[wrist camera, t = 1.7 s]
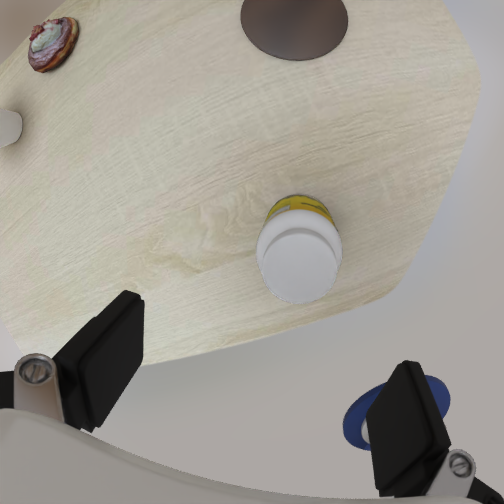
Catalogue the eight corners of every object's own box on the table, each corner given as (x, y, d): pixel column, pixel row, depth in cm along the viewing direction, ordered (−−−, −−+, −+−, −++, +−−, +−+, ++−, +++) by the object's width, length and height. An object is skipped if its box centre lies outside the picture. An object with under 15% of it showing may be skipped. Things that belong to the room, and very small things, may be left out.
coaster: (354, -10, 20) (354, -11, 19) (337, 72, 23) (337, 71, 23) (253, -29, 20) (253, -30, 20) (230, 50, 24) (229, 49, 23)
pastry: (79, 8, 23) (54, -3, 18) (81, 55, 25) (54, 48, 20) (36, 38, 24) (11, 32, 19) (37, 83, 26) (10, 81, 22)
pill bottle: (344, 230, 28) (369, 278, 18) (294, 267, 30) (291, 331, 20) (303, 178, 27) (308, 199, 17) (253, 220, 29) (228, 263, 19)
